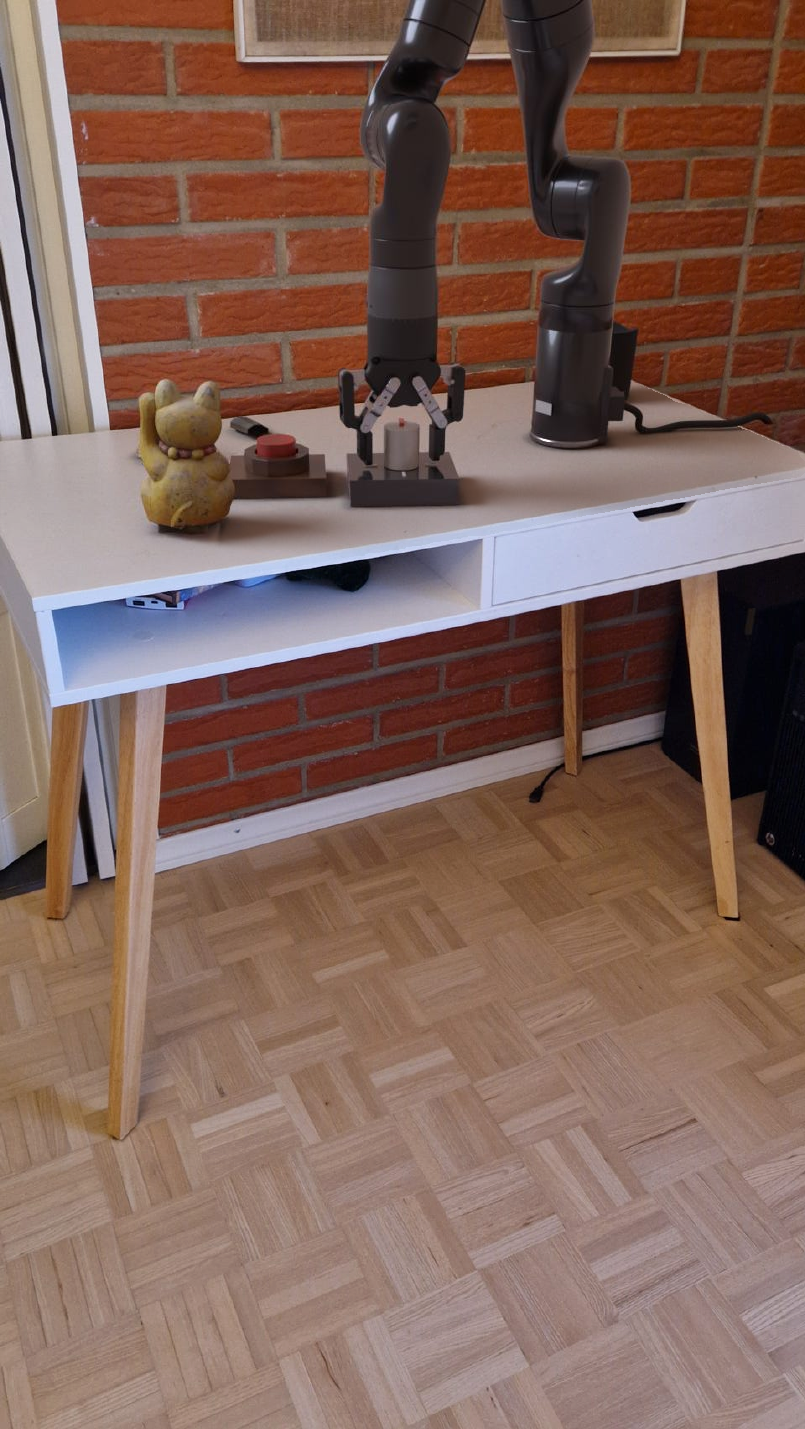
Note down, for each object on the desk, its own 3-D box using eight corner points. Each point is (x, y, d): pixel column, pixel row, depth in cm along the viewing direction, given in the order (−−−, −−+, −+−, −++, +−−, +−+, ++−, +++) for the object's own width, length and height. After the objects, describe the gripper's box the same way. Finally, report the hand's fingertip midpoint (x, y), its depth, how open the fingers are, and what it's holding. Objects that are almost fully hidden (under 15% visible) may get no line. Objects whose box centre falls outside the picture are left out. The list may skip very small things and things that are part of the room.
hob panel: (448, 476, 139) (449, 450, 138) (458, 505, 130) (459, 477, 129) (346, 478, 138) (346, 452, 137) (350, 507, 130) (349, 479, 128)
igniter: (325, 472, 140) (324, 439, 138) (326, 497, 132) (326, 462, 130) (231, 473, 139) (229, 440, 138) (228, 498, 132) (225, 463, 130)
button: (296, 448, 136) (295, 433, 135) (296, 460, 132) (295, 444, 132) (257, 449, 136) (257, 434, 135) (256, 460, 132) (255, 445, 131)
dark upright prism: (564, 403, 168) (570, 331, 164) (567, 387, 177) (572, 318, 172) (631, 407, 167) (638, 334, 162) (631, 390, 175) (638, 321, 170)
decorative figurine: (236, 513, 128) (228, 372, 120) (236, 540, 121) (227, 392, 113) (146, 515, 127) (131, 374, 119) (140, 543, 119) (124, 395, 112)
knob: (420, 470, 131) (420, 428, 129) (384, 470, 131) (384, 428, 129) (418, 459, 135) (418, 418, 132) (383, 460, 135) (383, 418, 132)
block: (247, 440, 151) (246, 426, 150) (227, 429, 156) (226, 415, 155) (272, 436, 153) (272, 422, 152) (252, 425, 157) (251, 411, 157)
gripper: (343, 318, 120) (345, 476, 128) (478, 313, 123) (472, 467, 131) (328, 305, 126) (331, 456, 134) (457, 300, 129) (452, 447, 137)
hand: (401, 461), depth 133 cm, fingers open, 7 cm apart
